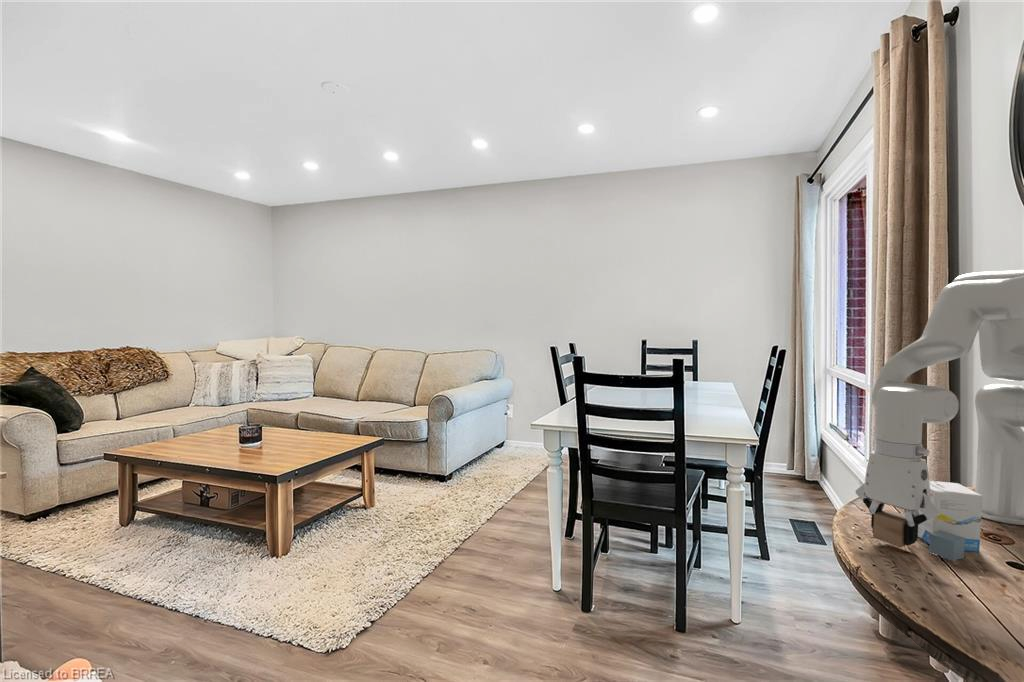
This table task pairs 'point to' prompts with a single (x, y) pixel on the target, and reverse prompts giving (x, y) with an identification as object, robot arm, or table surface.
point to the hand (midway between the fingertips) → (893, 537)
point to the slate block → (947, 545)
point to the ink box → (954, 513)
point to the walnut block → (889, 527)
